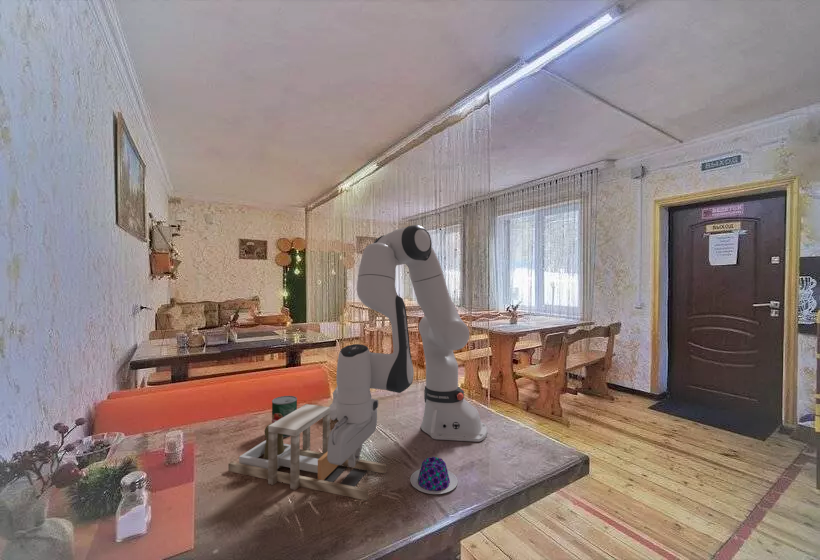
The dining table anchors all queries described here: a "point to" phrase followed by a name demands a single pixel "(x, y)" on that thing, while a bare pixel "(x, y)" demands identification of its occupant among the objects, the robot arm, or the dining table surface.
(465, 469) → the dining table surface
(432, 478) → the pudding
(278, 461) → the sled fence
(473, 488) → the dining table surface
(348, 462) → the robot arm
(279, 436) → the olive rounded cylinder
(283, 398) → the canned tomato
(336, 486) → the tunnel track
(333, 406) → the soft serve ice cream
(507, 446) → the dining table surface
